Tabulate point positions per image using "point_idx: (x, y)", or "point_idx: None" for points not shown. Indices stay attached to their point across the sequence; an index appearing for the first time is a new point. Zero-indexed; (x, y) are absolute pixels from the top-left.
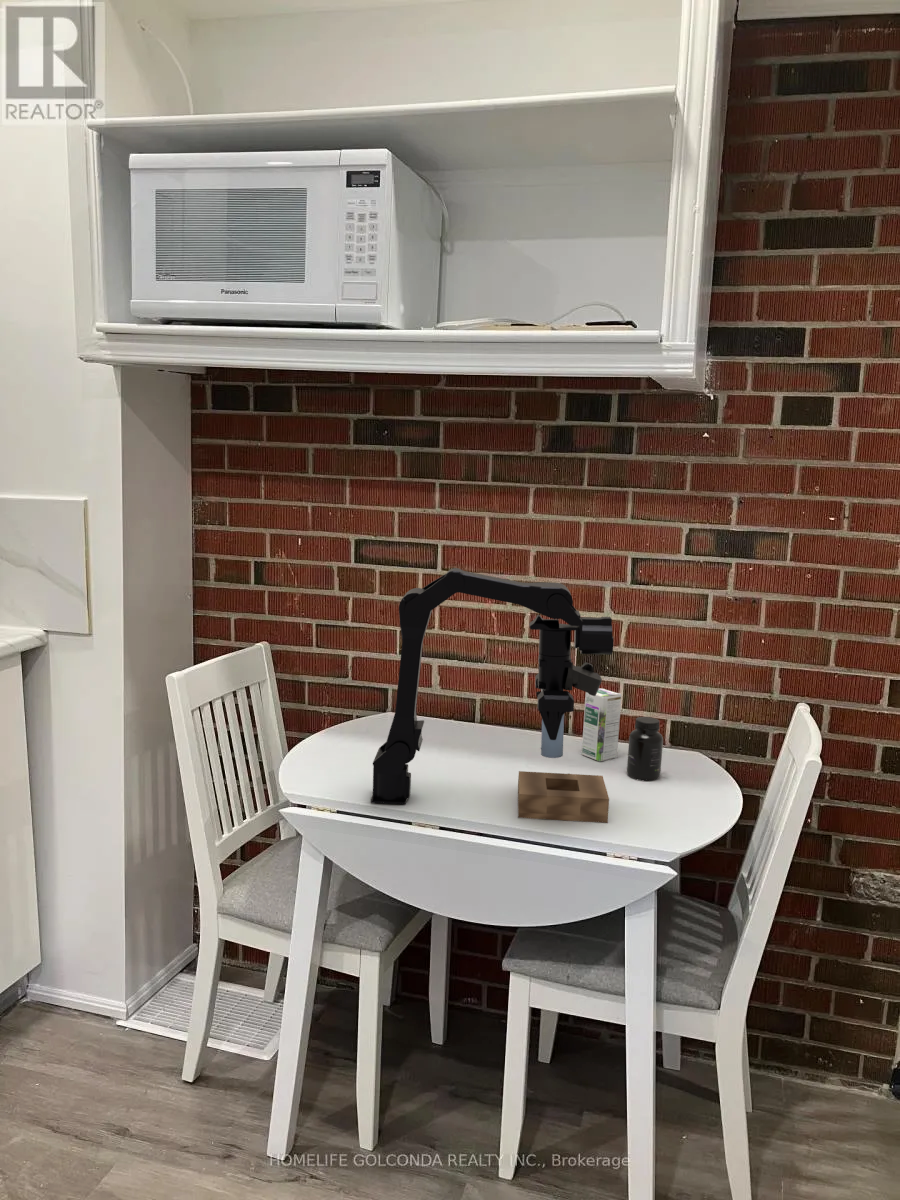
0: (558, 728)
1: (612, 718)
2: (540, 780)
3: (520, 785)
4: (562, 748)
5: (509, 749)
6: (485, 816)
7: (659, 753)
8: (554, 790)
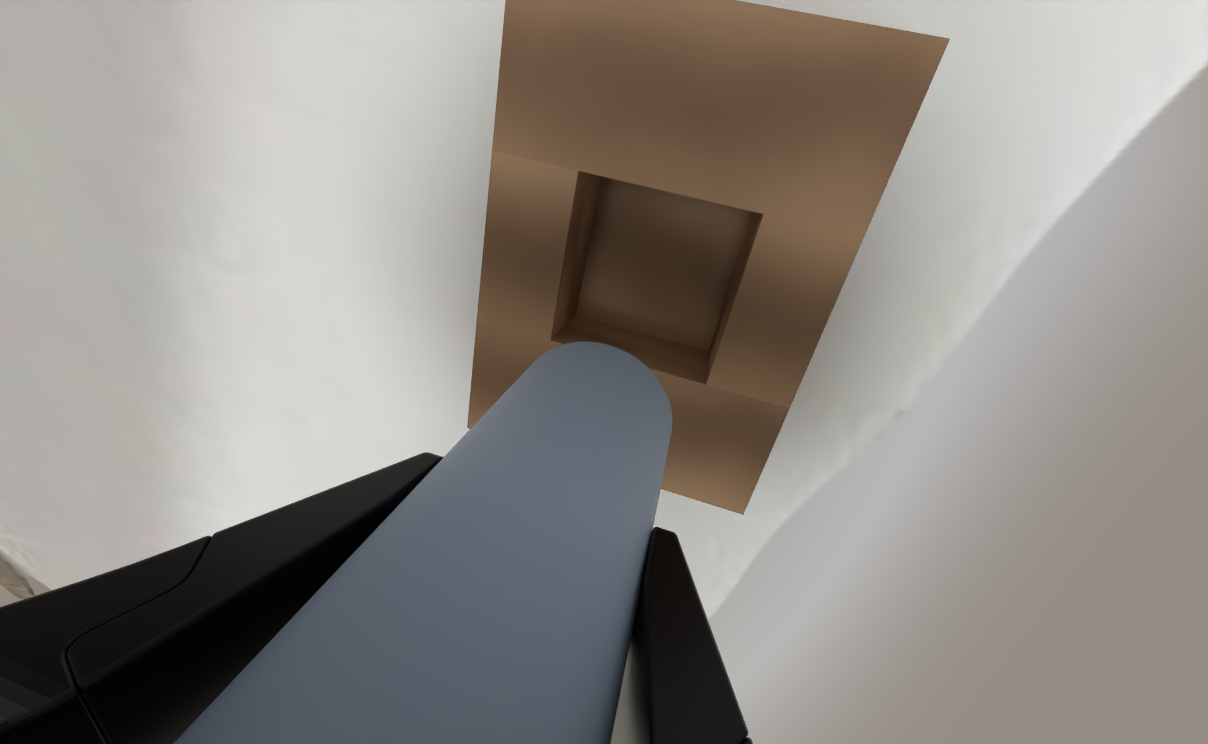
0: (721, 664)
1: None
2: None
3: None
4: (624, 385)
5: (98, 284)
6: (706, 542)
7: None
8: (726, 352)
